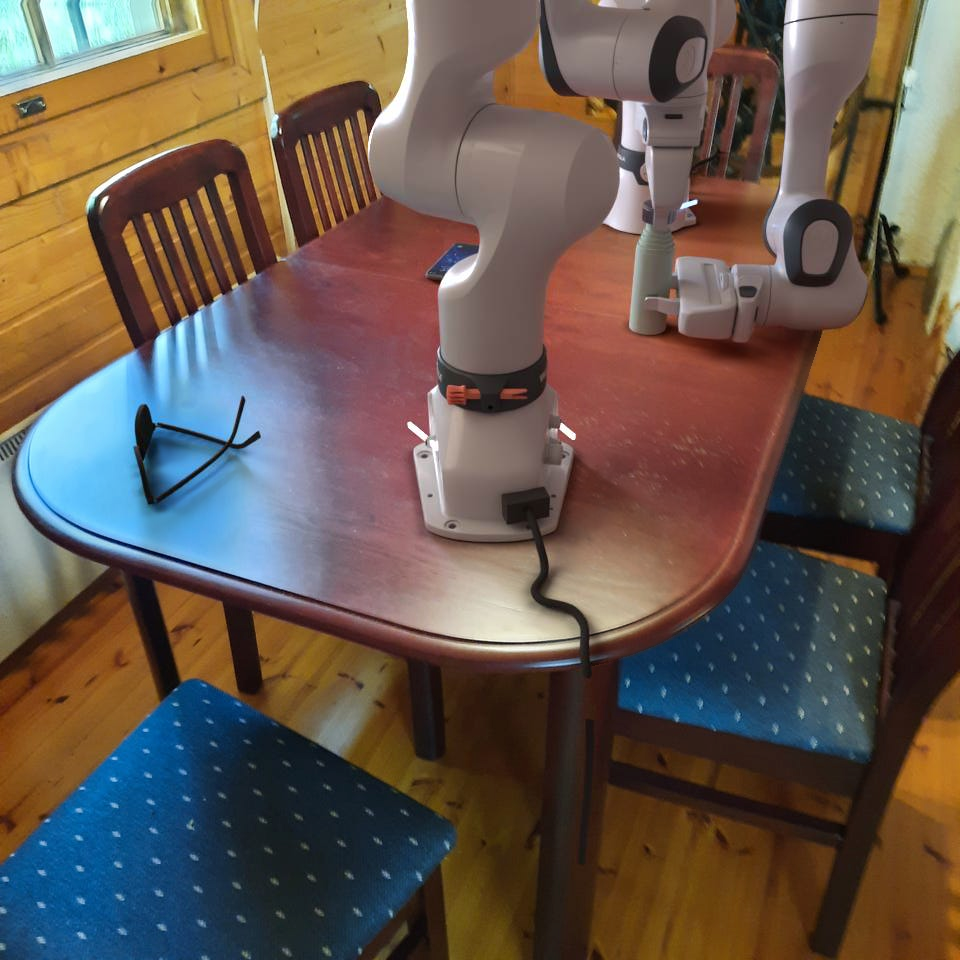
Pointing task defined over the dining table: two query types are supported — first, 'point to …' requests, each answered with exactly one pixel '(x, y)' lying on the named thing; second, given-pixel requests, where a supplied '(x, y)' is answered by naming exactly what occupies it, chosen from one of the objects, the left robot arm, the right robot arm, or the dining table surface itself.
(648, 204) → the cap
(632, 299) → the bottle
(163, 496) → the sunglasses
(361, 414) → the dining table surface
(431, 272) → the smartphone
